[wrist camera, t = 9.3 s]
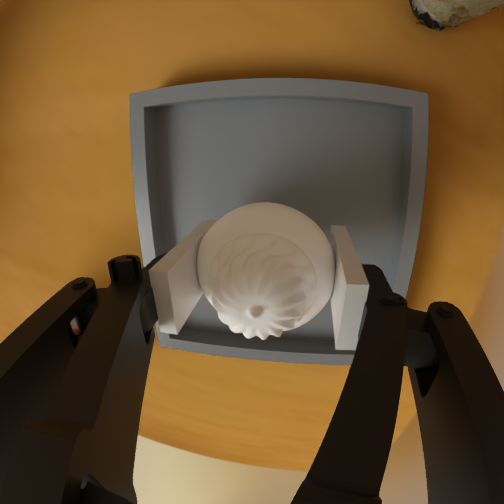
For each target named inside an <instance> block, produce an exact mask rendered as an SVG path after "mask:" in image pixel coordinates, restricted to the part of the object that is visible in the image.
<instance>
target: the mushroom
mask: <svg viewBox="0 0 504 504" xmlns="http://www.w3.org/2000/svg"><path fill="white" fill-rule="evenodd" d="M409 2H410V5H411V8H412V11H413V13H414V15H415V16H416V17H417V19H418V20H419V22H418V23H416V24H422V25H426V26H427V27H428V28H431V29H435V30H438V31H441V30H443V29H444V27H445V26H452V27H456V26H458V25H459V24H461V23H464V22H466V21H468V20H471V19H474V18H476V17H478V16H480V15H482V14H484V13H486V12H488V11H493V10H498V7H501V6H503V5H504V0H409Z"/></svg>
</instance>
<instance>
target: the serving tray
mask: <svg viewBox="0 0 504 504" xmlns="http://www.w3.org/2000/svg"><path fill="white" fill-rule="evenodd" d="M428 124H429V111H428V93H423V92H419V91H414V90H408V89H403V88H397V87H391V86H385V85H378V84H370V83H362V82H353V81H342V80H329V79H310V78H252V79H233V80H220V81H209V82H200V83H191V84H184V85H177V86H170V87H164V88H158V89H152V90H147V91H142V92H137V93H132V94H130V136H131V155H132V170H133V183H134V194H135V204H136V213H137V221H138V229H139V237H140V244H141V251H142V257H143V263H144V267H146V265H147V264H148V263H150V262H151V261H152V260H153V259H154V258H155V257H157V256H160V255H162V254H167V253H168V252H169V251H170V250H171V249H173V248H174V247H175V246H176V245H177V244H178V243H179V242H180V241H181V240H183V239H184V238H185V237H186V236H187V235H188V234H189V233H190V232H192V231H193V230H194V229H195V228H196V227H197V226H198V225H199V224H201V223H202V222H203V221H204V220H219V219H220V218H221V217H223V216H224V215H226V214H227V213H229V212H231V211H233V210H235V209H237V208H239V207H242V206H244V205H248V204H253V203H261V202H270V203H278V204H282V205H285V206H289V207H291V208H294V209H296V210H298V211H300V212H301V213H303V214H305V215H306V216H308V217H309V218H310V219H312V220H313V221H314V222H315V223H316V224H317V225H318V226H319V227H320V228H321V230H322V231H323V232H324V234H325V236H326V237H327V239H328V241H329V243H330V233H331V225H338V226H345V227H346V229H347V231H348V234H349V236H350V238H351V241H352V243H353V245H354V248H355V250H356V253H357V255H358V257H359V260H360V262H361V264H373V265H376V266H377V267H379V268H380V269H381V270H382V271H383V273H384V275H385V277H386V279H387V281H388V283H389V285H390V287H391V289H392V291H393V292H394V293H397V294H399V295H401V296H403V297H404V298H405V299H406V295H407V291H408V286H409V282H410V278H411V273H412V268H413V264H414V259H415V253H416V248H417V242H418V236H419V230H420V224H421V217H422V209H423V201H424V192H425V182H426V170H427V155H428ZM155 326H156V331H157V335H158V339H159V344H160V346H161V347H166V348H172V349H178V350H184V351H190V352H197V353H203V354H210V355H218V356H226V357H234V358H243V359H252V360H263V361H274V362H288V363H304V364H327V365H351V364H352V361H353V358H354V355H355V352H356V350H336V349H335V338H334V328H333V318H332V309H331V301H330V298H329V300H328V302H327V303H326V305H325V306H324V308H323V309H322V310H321V311H320V312H319V313H318V314H317V315H316V316H315V317H314V318H313V319H311V320H310V321H308V322H307V323H305V324H303V325H301V326H300V327H297V328H295V329H291V330H287V331H282V334H281V336H280V337H276V336H274V335H269V336H268V337H267V338H266V339H265V340H262V339H261V338H260V337H258V336H255V337H252V338H250V339H248V338H246V337H245V336H244V335H243V333H234V332H232V331H231V330H230V328H229V325H227V324H224V323H223V322H221V320H220V319H219V317H218V312H217V311H216V309H215V308H214V307H213V306H212V305H211V303H210V302H209V301H208V299H207V298H206V296H205V294H204V293H203V294H202V296H201V298H200V299H199V301H198V302H197V304H196V306H195V307H194V309H193V310H192V312H191V314H190V315H189V317H188V318H187V320H186V322H185V323H184V325H183V326H182V328H181V330H180V331H179V333H178V335H176V334H170V333H164V332H160V328H159V324H158V320H157V322H156V323H155ZM358 342H359V339H358ZM358 342H357V345H358ZM356 349H357V346H356Z"/></svg>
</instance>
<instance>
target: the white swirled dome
mask: <svg viewBox="0 0 504 504" xmlns="http://www.w3.org/2000/svg"><path fill="white" fill-rule="evenodd" d="M197 274H198V279H199V283H200V286H201V288H202V290H203V293H204V294H205V296H206V298H207V299H208V301H209V302H210V303H211V305H212V306H213V307H214V308H215V309H216V311H217V312H218V317H219V319H220V320H221V322H223V323H224V324H227V325H229V328H230V330H231V331H232V332H234V333H243V335H244V336H245V337H246V338H248V339H250V338H252V337H255V336H258V337H260V338H261V339H262V340H265V339H266V338H267V337H268V336H269V335H274V336H276V337H280V336H281V334H282V331H287V330H291V329H295V328H297V327H300V326H301V325H303V324H305V323H307V322H308V321H310V320H311V319H313V318H314V317H315V316H316V315H317V314H318V313H319V312H320V311H321V310H322V309H323V308H324V306H325V305H326V303H327V302H328V300H329V298H330V296H331V294H332V291H333V287H334V281H335V261H334V255H333V252H332V249H331V246H330V243H329V241H328V239H327V237H326V236H325V234H324V232H323V231H322V230H321V228H320V227H319V226H318V225H317V224H316V223H315V222H314V221H313V220H312V219H310V218H309V217H308V216H306V215H305V214H303V213H301V212H300V211H298V210H296V209H294V208H291V207H289V206H285V205H282V204H278V203H270V202H261V203H253V204H248V205H244V206H242V207H239V208H237V209H235V210H233V211H231V212H229V213H227V214H226V215H224V216H223V217H221V218H220V219H219V220H218V221H216V222H215V223H214V224H213V225H212V226H211V227H210V228H209V230H208V231H207V232H206V234H205V235H204V237H203V239H202V241H201V243H200V246H199V250H198V255H197Z"/></svg>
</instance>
